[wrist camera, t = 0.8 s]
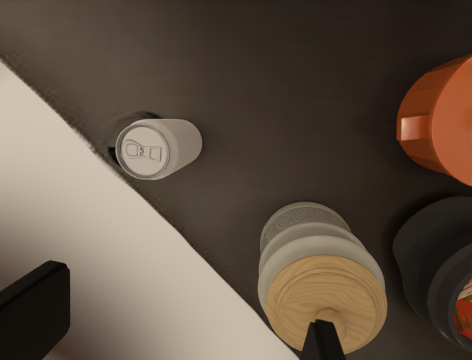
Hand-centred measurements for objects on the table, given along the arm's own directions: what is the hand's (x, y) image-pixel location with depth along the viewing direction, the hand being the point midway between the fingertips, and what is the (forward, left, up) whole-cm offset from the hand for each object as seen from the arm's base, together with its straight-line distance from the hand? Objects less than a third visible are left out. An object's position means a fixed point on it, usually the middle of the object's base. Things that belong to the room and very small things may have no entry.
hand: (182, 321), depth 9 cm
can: (-3, -10, -28) cm, 30 cm away
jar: (+9, +10, -28) cm, 31 cm away
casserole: (+9, +33, -28) cm, 45 cm away
